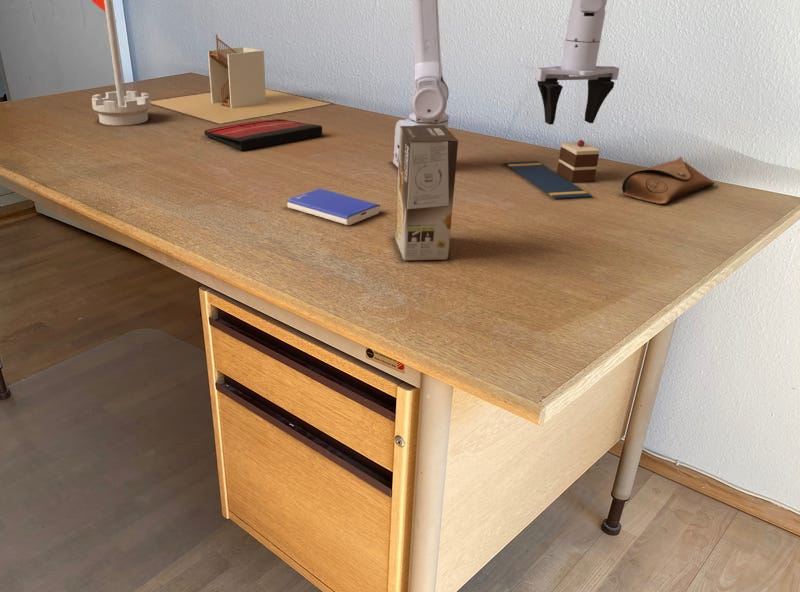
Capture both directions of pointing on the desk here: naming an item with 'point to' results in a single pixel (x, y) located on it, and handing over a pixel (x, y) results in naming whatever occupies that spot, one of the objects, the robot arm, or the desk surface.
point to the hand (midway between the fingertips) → (569, 122)
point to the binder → (263, 133)
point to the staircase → (236, 89)
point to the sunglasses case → (665, 182)
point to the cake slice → (578, 161)
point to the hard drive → (334, 206)
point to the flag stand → (119, 87)
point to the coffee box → (425, 191)
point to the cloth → (547, 180)
